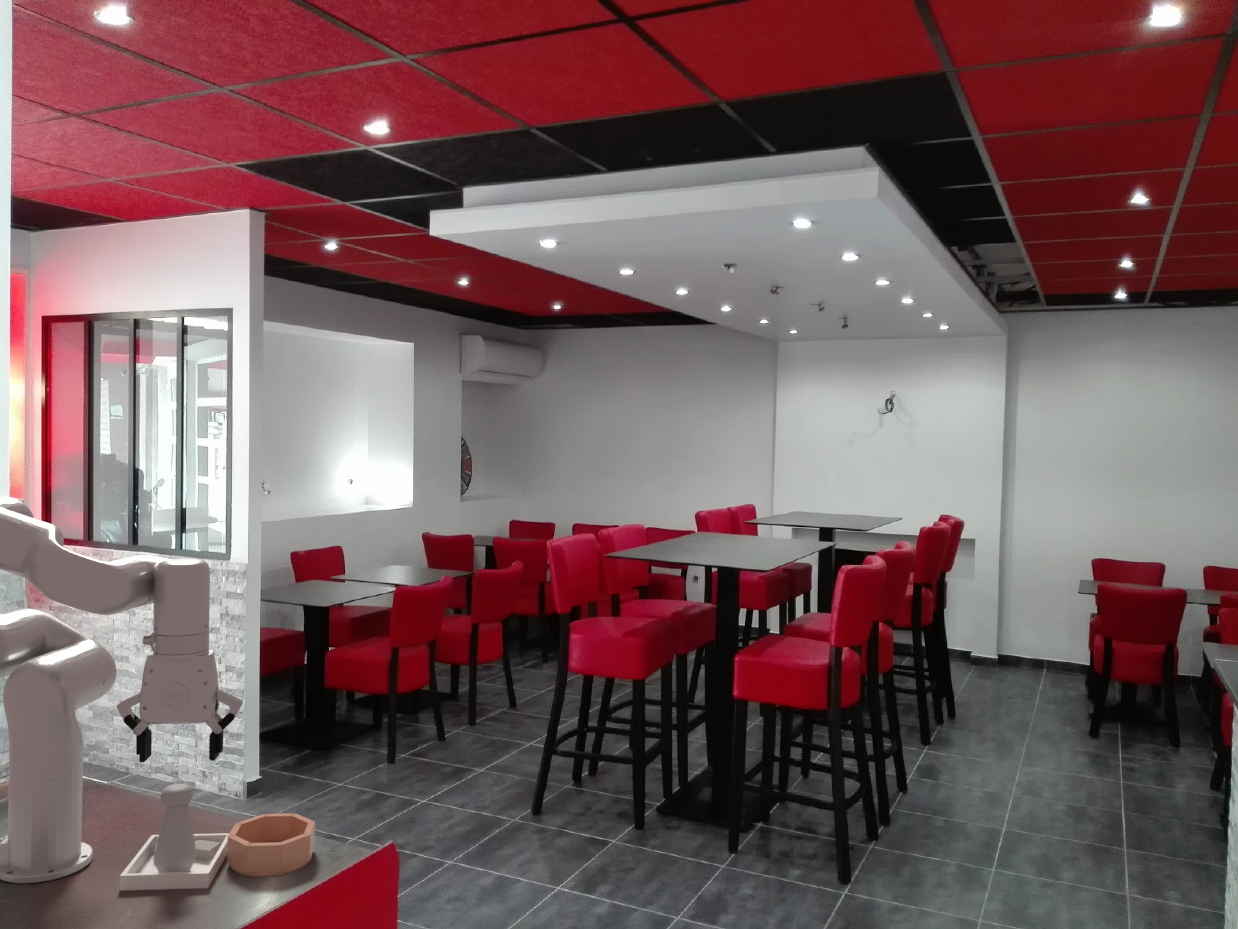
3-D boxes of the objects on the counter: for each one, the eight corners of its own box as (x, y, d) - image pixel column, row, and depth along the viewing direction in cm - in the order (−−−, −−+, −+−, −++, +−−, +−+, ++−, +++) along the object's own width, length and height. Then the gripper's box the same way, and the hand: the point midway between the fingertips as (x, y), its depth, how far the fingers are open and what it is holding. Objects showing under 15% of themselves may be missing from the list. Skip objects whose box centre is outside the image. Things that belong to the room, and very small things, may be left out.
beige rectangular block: (185, 857, 150) (186, 847, 150) (197, 849, 153) (198, 839, 152) (209, 861, 149) (209, 850, 149) (220, 852, 152) (221, 842, 152)
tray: (119, 891, 139) (119, 875, 138) (151, 848, 152) (151, 835, 152) (208, 888, 140) (208, 873, 140) (231, 847, 154) (232, 833, 154)
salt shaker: (179, 884, 141) (181, 796, 140) (144, 879, 142) (146, 791, 142) (204, 867, 147) (206, 782, 146) (170, 862, 148) (172, 777, 147)
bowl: (220, 878, 143) (221, 846, 143) (239, 844, 155) (240, 814, 155) (305, 876, 145) (306, 844, 145) (317, 842, 157) (318, 813, 157)
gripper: (109, 649, 138) (108, 769, 139) (236, 648, 141) (235, 765, 141) (127, 638, 146) (126, 751, 146) (248, 637, 148) (247, 749, 149)
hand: (180, 758), depth 144 cm, fingers open, 9 cm apart
